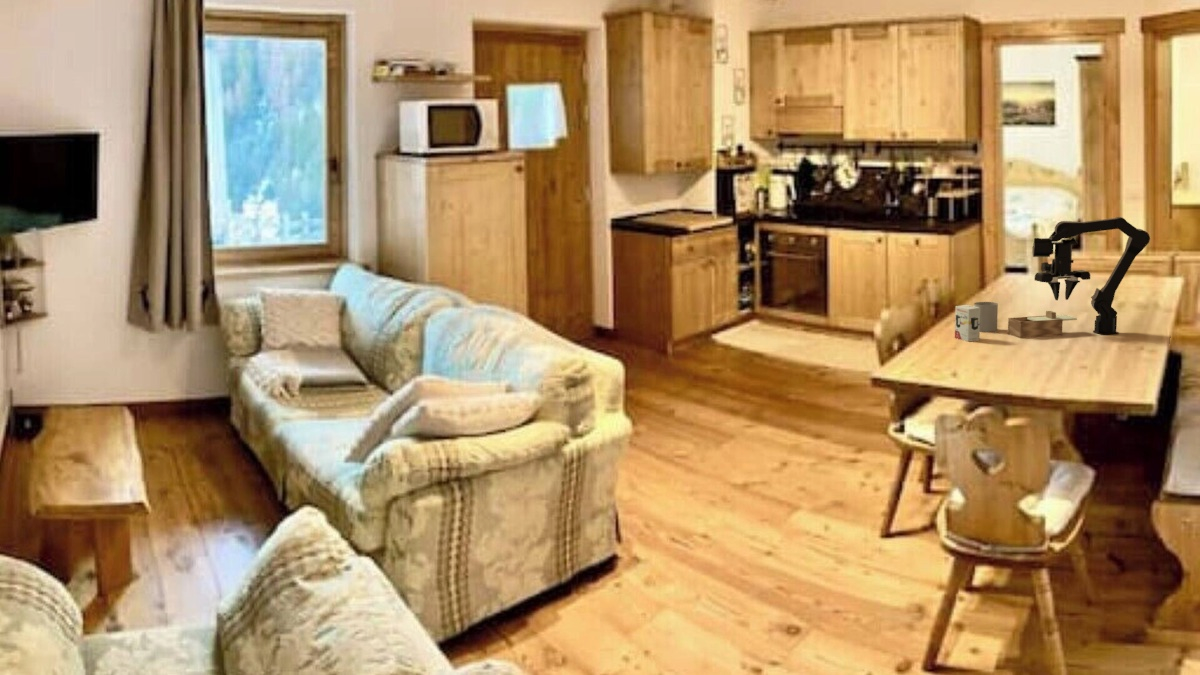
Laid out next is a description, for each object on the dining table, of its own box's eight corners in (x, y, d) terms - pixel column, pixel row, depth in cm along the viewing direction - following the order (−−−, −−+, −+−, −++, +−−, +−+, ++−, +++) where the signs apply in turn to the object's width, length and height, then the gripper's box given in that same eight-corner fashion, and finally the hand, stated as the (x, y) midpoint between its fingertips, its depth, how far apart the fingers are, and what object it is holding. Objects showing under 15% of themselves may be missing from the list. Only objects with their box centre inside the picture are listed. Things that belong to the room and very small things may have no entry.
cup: (999, 329, 447) (1000, 302, 446) (994, 332, 441) (994, 305, 439) (976, 327, 452) (977, 301, 450) (970, 331, 445) (971, 304, 443)
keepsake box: (1048, 331, 440) (1049, 315, 439) (1062, 335, 431) (1062, 319, 430) (1007, 333, 438) (1008, 318, 437) (1020, 338, 429) (1020, 321, 428)
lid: (1065, 316, 439) (1065, 309, 439) (1076, 319, 432) (1077, 312, 431) (1027, 319, 437) (1027, 311, 437) (1037, 322, 430) (1038, 314, 429)
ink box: (954, 337, 434) (954, 305, 432) (965, 336, 435) (966, 304, 433) (968, 341, 426) (968, 308, 424) (980, 340, 427) (980, 307, 425)
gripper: (1075, 253, 440) (1073, 295, 443) (1027, 255, 437) (1026, 298, 440) (1092, 256, 429) (1090, 299, 432) (1043, 259, 427) (1041, 302, 429)
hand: (1061, 299), depth 434 cm, fingers open, 4 cm apart
